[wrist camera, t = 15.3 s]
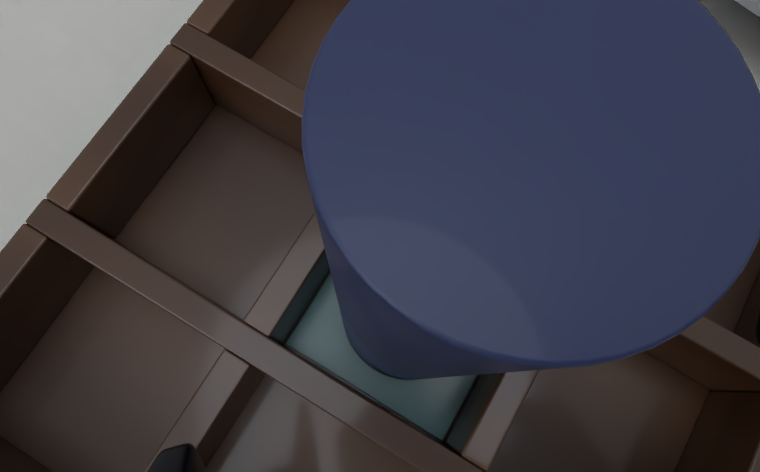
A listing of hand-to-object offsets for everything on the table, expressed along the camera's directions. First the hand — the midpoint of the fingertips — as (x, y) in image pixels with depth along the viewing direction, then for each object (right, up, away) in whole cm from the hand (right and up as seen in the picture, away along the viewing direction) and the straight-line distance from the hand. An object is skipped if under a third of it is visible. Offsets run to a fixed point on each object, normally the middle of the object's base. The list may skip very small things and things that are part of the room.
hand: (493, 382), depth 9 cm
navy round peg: (-1, 0, +9) cm, 9 cm away
